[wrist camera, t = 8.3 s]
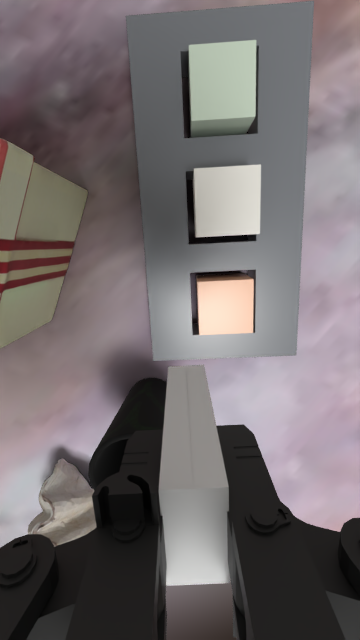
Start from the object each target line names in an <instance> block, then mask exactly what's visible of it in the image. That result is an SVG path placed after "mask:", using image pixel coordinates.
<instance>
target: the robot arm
mask: <svg viewBox="0 0 360 640" xmlns="http://www.w3.org/2000/svg"><path fill="white" fill-rule="evenodd" d="M92 501H93V507H94V514H95V521H96V528H95V529H94V530H92V531H91V532H89V533H88V534H86V535H84V536H82V537H80V538H77V539H75V540H72V541H69V542H66V543H63V544H60V545H57V546H55V547H54V545H53V543H52V542H51V540H50V538H48V537H46V536H43V535H41V534H28V535H25V536H22V537H19V538H16V539H14V540H12V541H11V542H9V543H7V544H6V545H4V546H3V547H1V548H0V640H166V628H167V611H166V599H165V597H166V596H165V594H166V586H170V585H192V584H215V583H230V579H231V585H232V591H233V637H237V640H360V518H352V519H351V520H349V521H347V522H346V523H344V525H343V527H342V529H341V532H337V531H333V530H329V529H324V528H320V527H316V526H313V525H310V524H307V523H305V522H303V521H301V520H299V519H298V518H296V517H295V516H293V514H292V513H291V511H290V510H289V508H288V507H286V506H285V505H284V504H283V503H282V502H280V500H279V498H278V496H277V493H276V490H275V488H274V485H273V483H272V480H271V477H270V475H269V472H268V470H267V467H266V465H265V462H264V459H263V458H262V454H261V452H260V449H259V448H258V444H257V441H256V439H255V436H254V434H253V433H252V432H251V431H250V430H249V429H248V428H247V427H246V426H245V425H224V426H216V422H215V417H214V412H213V407H212V402H211V398H210V393H209V388H208V383H207V378H206V373H205V368H204V365H192V366H172V367H168V376H167V389H166V402H165V415H164V427H163V430H143V431H135V432H134V434H133V435H132V436H131V437H130V438H129V439H128V441H127V443H126V447H125V451H124V456H123V459H122V463H121V467H120V471H119V472H118V473H116V474H114V475H112V476H109V477H107V478H106V479H105V480H103V481H102V482H101V483H100V484H99V485H98V486H97V487H96V489H95V491H94V493H93V494H92Z"/></svg>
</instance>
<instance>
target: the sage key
mask: <svg viewBox="0 0 360 640" xmlns="http://www.w3.org/2000/svg"><path fill="white" fill-rule="evenodd" d="M188 81H189V107H190V134H191V138H197V137H212V136H228V135H243V134H246V133H247V131H248V129H249V127H250V126H251V124H252V122H253V120H254V118H255V115H256V40H247V41H234V42H221V43H208V44H194V45H189V72H188Z"/></svg>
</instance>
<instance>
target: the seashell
mask: <svg viewBox="0 0 360 640" xmlns="http://www.w3.org/2000/svg"><path fill="white" fill-rule="evenodd" d="M93 493H94V489H92V488H91V487H90V485H89V484H88V482H87V481H86V480H85V479H84V477H83V475H82V474H80V472H79V471H78V469H77V468H76V466H74V465H73V464H70V463H68V462H67V461H66V460H65V459H60V460H58V462H57V464H55V468H54V472H53V474H52V475H51V476H50V477H49V478H47V479H46V480H45V482H44V483H43V485H42V488H41V490H40V493H39V502H40V505H41V507H42V509H43V512H41V513H40V514H39V515H37V516H36V517H35V518H34V520H33V521H32V522H31V523H30V524H29V527H28V534H41V535H43V536H46V537H48V538H50V540H51V542H52V543H53V545H54V547H55V546H57V545H60V544H63V543H66V542H69V541H72V540H75V539H77V538H80V537H82V536H84V535H86V534H88V533H89V532H91V531H92V530H94V529H95V528H96V521H95V514H94V507H93V501H92V494H93Z"/></svg>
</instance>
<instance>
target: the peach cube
mask: <svg viewBox="0 0 360 640" xmlns="http://www.w3.org/2000/svg"><path fill="white" fill-rule="evenodd" d="M196 293H197V319H198V328H199V335H216V334H240V333H253V298H254V279H253V278H251V277H249V276H248V275H246V274H245V273H228V274H207V275H196Z"/></svg>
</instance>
